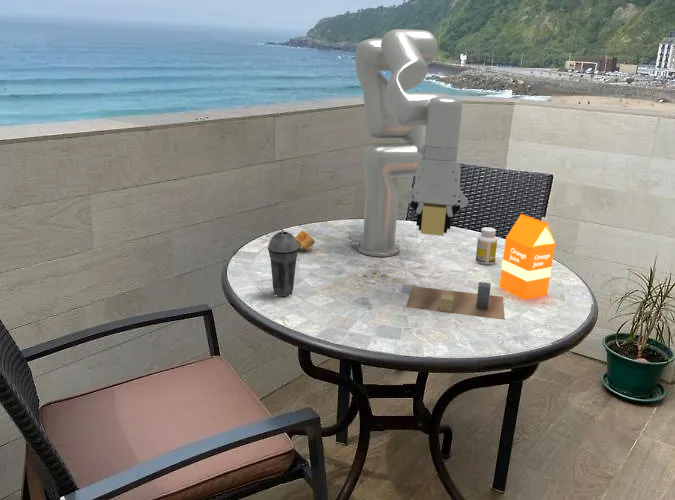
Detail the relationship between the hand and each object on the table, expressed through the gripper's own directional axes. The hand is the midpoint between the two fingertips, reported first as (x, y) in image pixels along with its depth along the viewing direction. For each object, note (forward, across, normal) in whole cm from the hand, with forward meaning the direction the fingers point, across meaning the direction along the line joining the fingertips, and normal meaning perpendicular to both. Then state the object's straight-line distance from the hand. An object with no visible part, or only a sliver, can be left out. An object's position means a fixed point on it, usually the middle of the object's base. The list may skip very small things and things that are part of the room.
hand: (433, 229), depth 138 cm
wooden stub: (+16, +5, -9) cm, 19 cm away
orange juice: (+17, +23, +8) cm, 30 cm away
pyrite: (+18, -38, +22) cm, 48 cm away
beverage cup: (+17, -34, -9) cm, 39 cm away
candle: (+17, +28, +28) cm, 43 cm away
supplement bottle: (+18, +14, +30) cm, 37 cm away
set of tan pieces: (+18, -14, +6) cm, 23 cm away
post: (+16, +13, -5) cm, 21 cm away
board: (+17, +7, -4) cm, 19 cm away
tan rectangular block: (0, 0, 0) cm, 0 cm away
